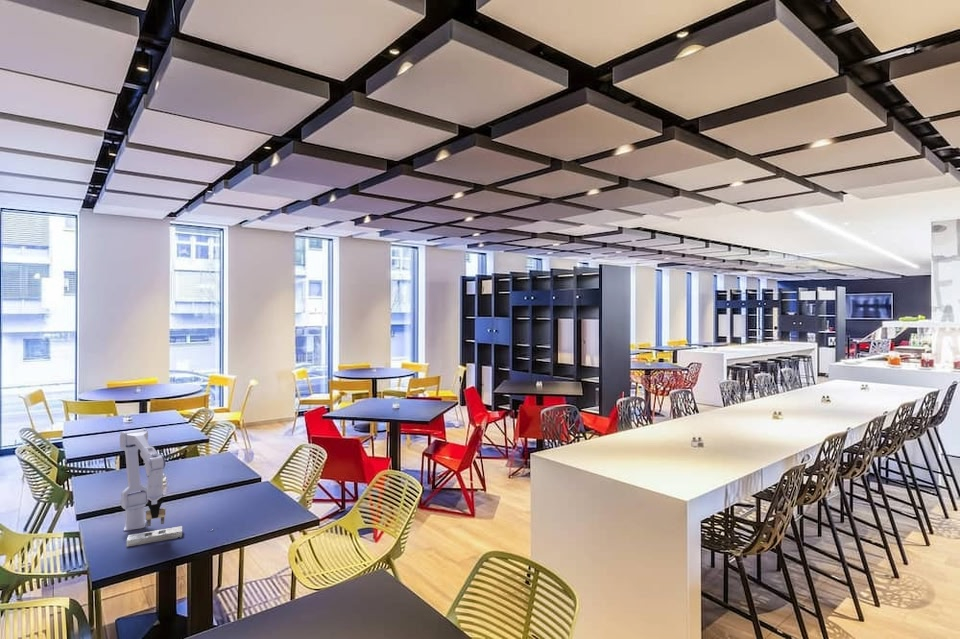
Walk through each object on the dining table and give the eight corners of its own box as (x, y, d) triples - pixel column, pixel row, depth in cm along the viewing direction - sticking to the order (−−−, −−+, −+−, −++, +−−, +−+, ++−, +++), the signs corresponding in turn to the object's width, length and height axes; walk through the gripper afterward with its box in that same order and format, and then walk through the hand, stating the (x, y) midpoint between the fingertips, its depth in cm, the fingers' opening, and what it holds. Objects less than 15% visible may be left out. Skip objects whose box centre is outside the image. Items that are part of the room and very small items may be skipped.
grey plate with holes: (128, 540, 223) (128, 535, 223) (182, 531, 233) (182, 525, 233) (126, 546, 217) (126, 540, 217) (181, 537, 227) (181, 531, 227)
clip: (146, 524, 225) (146, 510, 225) (165, 521, 228) (165, 507, 228) (145, 527, 222) (145, 512, 222) (165, 523, 225) (165, 509, 226)
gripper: (165, 487, 221) (165, 520, 221) (166, 479, 234) (166, 509, 233) (145, 490, 217) (145, 523, 217) (148, 481, 230) (148, 512, 230)
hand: (155, 516), depth 225 cm, fingers closed on clip, 3 cm apart
